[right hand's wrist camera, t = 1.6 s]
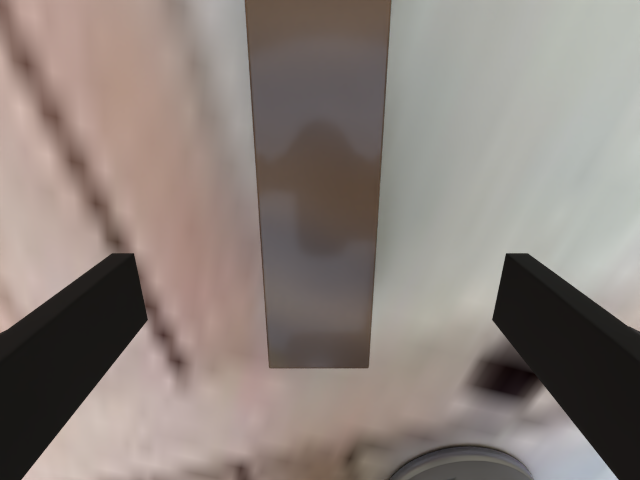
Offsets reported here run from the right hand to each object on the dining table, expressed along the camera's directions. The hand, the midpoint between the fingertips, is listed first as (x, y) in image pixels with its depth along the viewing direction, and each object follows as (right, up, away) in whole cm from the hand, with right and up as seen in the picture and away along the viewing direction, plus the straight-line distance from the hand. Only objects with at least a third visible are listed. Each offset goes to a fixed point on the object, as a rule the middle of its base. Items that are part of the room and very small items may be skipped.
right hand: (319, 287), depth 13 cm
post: (0, +22, +4) cm, 23 cm away
